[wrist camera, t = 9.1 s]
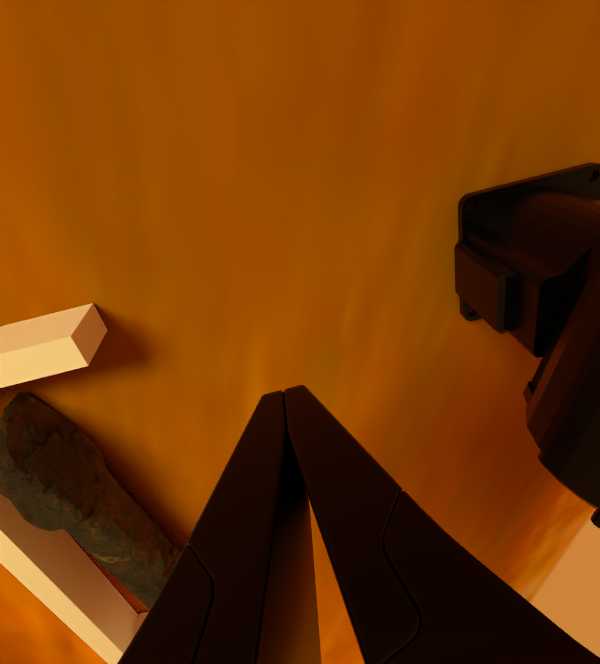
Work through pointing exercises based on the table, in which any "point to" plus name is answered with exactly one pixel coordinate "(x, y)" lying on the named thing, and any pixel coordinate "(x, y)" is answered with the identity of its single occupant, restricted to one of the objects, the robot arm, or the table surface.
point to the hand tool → (79, 496)
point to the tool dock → (58, 546)
